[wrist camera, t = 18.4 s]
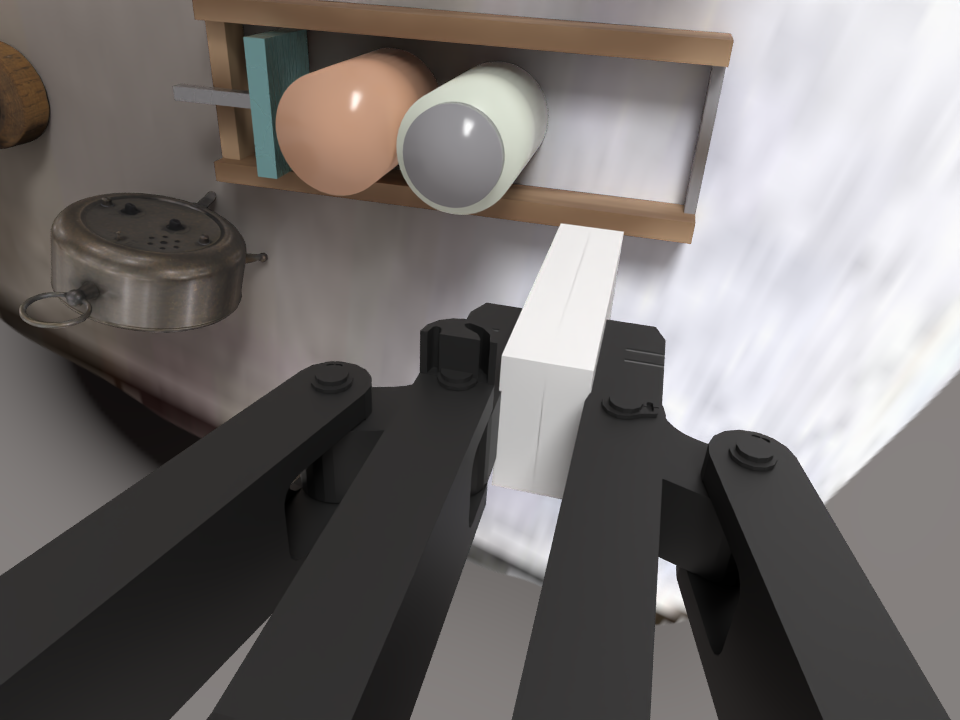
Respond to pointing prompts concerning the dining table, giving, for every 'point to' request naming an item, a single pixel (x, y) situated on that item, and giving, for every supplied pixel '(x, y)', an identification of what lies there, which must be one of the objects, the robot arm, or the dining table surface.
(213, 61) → the lane
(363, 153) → the jar in lane
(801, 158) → the dining table surface
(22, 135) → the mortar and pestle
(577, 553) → the robot arm
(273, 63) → the pusher
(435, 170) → the jar
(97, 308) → the alarm clock
